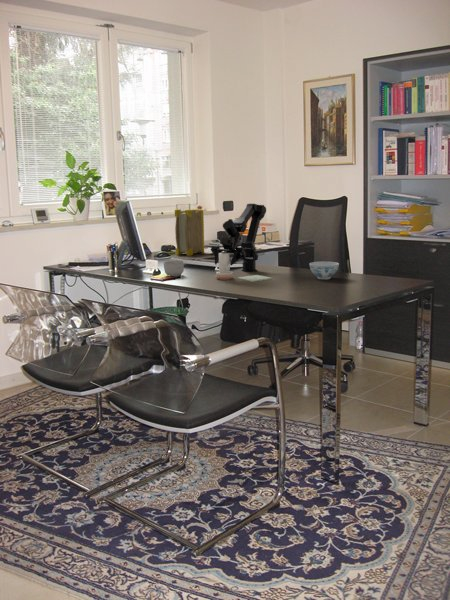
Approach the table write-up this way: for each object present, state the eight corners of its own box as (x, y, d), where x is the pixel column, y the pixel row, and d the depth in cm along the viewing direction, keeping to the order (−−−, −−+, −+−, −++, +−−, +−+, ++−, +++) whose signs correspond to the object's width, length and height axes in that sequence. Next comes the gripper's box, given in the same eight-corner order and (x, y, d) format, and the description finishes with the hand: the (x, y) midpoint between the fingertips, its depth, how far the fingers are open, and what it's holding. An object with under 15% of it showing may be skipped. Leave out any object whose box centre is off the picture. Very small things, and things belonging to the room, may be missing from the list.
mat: (257, 276, 366) (257, 274, 366) (272, 279, 356) (272, 277, 356) (237, 278, 359) (237, 277, 359) (252, 281, 349) (252, 280, 349)
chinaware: (304, 277, 359) (304, 262, 358) (329, 275, 364) (329, 260, 363) (318, 281, 346) (318, 266, 344) (344, 279, 351) (344, 264, 349)
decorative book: (192, 251, 473) (191, 207, 468) (205, 252, 467) (204, 208, 461) (174, 255, 457) (173, 209, 451) (187, 256, 451) (186, 210, 445)
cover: (226, 272, 366) (226, 249, 363) (235, 274, 359) (235, 251, 356) (213, 273, 361) (212, 251, 359) (222, 275, 354) (221, 252, 352)
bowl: (226, 276, 366) (226, 271, 366) (236, 278, 359) (236, 274, 359) (212, 278, 362) (212, 273, 361) (222, 280, 354) (222, 275, 354)
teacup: (181, 277, 367) (180, 262, 365) (161, 277, 369) (160, 262, 367) (187, 273, 380) (187, 259, 379) (168, 273, 382) (168, 258, 381)
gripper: (211, 230, 363) (201, 254, 356) (243, 231, 355) (233, 255, 347) (219, 244, 372) (209, 267, 364) (250, 245, 363) (240, 269, 355)
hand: (223, 264), depth 358 cm, fingers open, 9 cm apart
